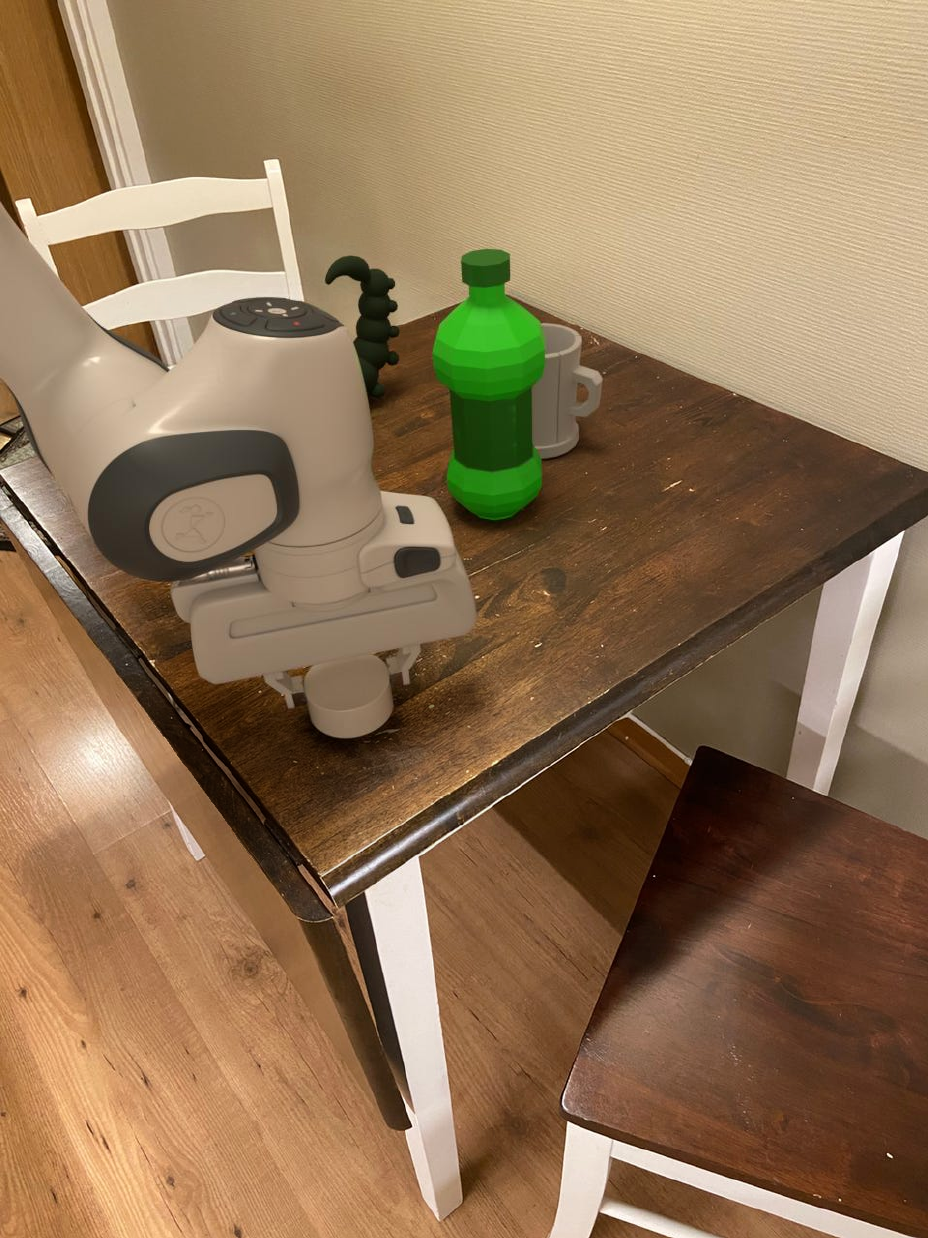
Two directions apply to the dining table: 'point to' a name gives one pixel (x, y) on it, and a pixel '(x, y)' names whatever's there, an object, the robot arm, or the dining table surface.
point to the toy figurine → (370, 318)
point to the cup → (561, 393)
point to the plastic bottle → (491, 390)
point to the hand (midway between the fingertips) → (349, 690)
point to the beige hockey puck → (349, 696)
